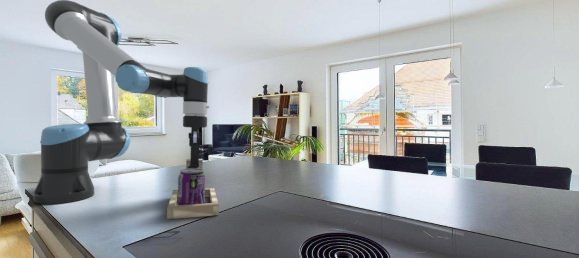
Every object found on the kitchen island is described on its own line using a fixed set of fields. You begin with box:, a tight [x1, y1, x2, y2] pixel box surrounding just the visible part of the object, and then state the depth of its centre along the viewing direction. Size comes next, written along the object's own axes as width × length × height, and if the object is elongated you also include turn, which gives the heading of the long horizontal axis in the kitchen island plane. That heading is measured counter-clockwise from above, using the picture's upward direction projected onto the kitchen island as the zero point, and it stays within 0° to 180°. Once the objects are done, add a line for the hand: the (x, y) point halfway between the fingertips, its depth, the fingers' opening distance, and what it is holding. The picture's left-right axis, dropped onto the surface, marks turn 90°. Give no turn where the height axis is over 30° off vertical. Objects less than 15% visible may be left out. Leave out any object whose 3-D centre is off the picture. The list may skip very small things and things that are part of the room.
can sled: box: [166, 158, 220, 220], centre depth 83 cm, size 21×13×12 cm, turn 19°
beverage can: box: [177, 168, 206, 205], centre depth 78 cm, size 7×7×12 cm
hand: (194, 185), depth 91 cm, fingers closed on can sled, 3 cm apart
